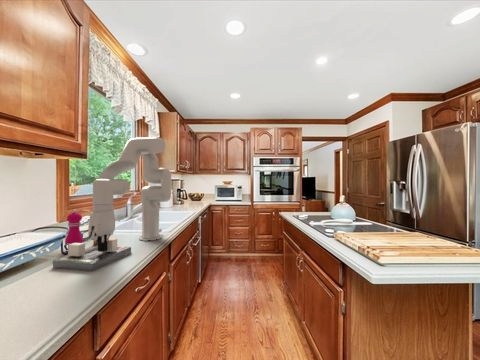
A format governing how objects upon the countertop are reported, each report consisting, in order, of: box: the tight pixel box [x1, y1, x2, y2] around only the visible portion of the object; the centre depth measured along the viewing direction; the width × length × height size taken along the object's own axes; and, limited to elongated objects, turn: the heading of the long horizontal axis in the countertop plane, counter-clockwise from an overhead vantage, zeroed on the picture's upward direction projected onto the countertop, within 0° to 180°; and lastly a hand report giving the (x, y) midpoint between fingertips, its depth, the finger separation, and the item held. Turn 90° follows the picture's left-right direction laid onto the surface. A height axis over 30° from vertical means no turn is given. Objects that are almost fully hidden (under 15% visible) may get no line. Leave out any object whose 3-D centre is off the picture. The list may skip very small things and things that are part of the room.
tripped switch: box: [106, 237, 118, 252], centre depth 98 cm, size 3×5×5 cm, turn 80°
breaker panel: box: [52, 245, 132, 273], centre depth 96 cm, size 22×18×3 cm
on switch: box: [67, 242, 86, 256], centre depth 92 cm, size 3×5×4 cm, turn 80°
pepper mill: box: [64, 209, 84, 245], centre depth 110 cm, size 7×7×20 cm
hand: (102, 251), depth 94 cm, fingers closed
